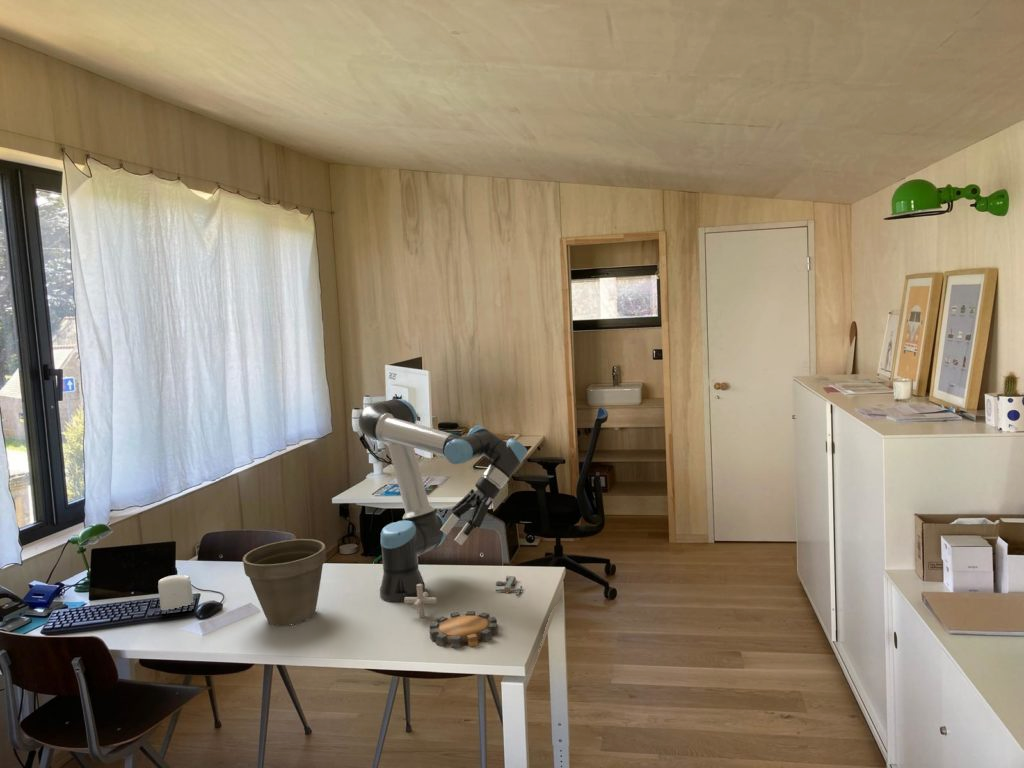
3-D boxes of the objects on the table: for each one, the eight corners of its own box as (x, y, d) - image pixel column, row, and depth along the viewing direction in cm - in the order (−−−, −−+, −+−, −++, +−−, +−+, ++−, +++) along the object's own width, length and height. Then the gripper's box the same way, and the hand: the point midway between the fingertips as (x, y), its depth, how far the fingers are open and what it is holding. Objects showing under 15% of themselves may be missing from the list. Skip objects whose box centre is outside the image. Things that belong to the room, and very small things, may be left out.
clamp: (498, 575, 264) (527, 575, 262) (499, 581, 264) (527, 581, 262) (488, 591, 249) (519, 591, 247) (489, 598, 249) (519, 598, 247)
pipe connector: (432, 623, 231) (430, 590, 230) (401, 622, 233) (398, 590, 232) (442, 610, 241) (439, 579, 240) (411, 609, 243) (409, 578, 242)
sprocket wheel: (416, 637, 221) (415, 629, 221) (463, 614, 236) (462, 606, 236) (464, 653, 209) (464, 644, 208) (511, 628, 223) (511, 620, 223)
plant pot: (246, 639, 228) (239, 568, 226) (251, 609, 251) (245, 545, 249) (332, 625, 234) (326, 556, 232) (329, 597, 258) (323, 534, 256)
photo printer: (159, 616, 251) (155, 579, 250) (163, 611, 255) (159, 575, 254) (192, 612, 253) (188, 576, 251) (195, 607, 257) (191, 571, 256)
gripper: (515, 496, 233) (473, 554, 229) (485, 482, 256) (446, 534, 251) (498, 482, 231) (454, 540, 226) (469, 469, 253) (429, 521, 249)
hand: (450, 537), depth 239 cm, fingers open, 13 cm apart
